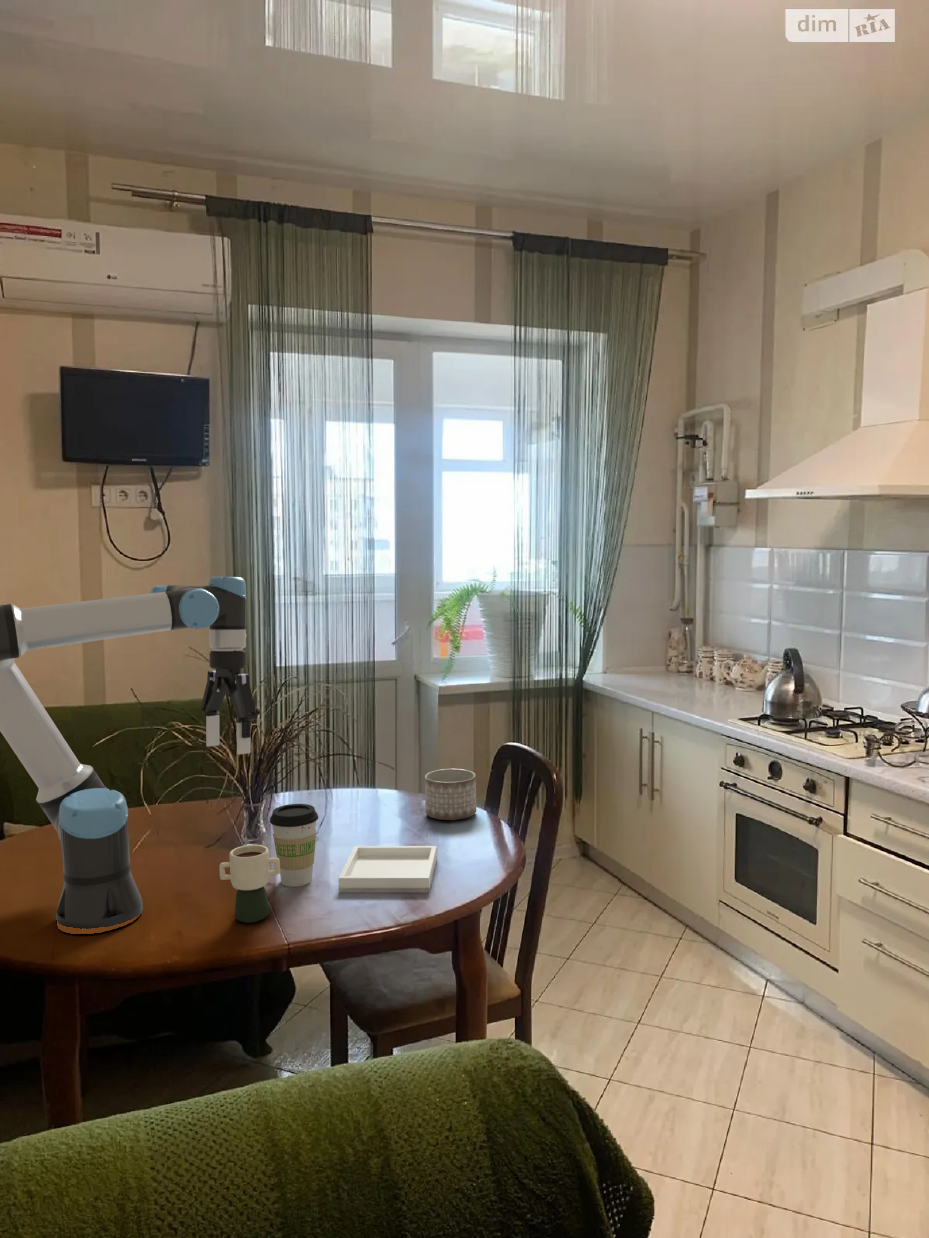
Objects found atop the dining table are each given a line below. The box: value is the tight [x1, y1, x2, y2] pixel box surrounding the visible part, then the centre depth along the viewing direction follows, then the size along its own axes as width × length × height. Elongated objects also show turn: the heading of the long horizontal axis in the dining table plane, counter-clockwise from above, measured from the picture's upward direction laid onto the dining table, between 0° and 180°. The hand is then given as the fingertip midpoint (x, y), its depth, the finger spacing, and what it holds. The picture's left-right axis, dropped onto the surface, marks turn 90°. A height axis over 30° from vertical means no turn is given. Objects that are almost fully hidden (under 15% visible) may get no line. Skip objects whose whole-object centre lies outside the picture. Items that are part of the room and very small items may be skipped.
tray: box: [338, 845, 438, 894], centre depth 187 cm, size 18×18×3 cm
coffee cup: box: [269, 803, 319, 888], centre depth 184 cm, size 10×10×15 cm
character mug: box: [218, 844, 280, 924], centre depth 167 cm, size 11×7×13 cm, turn 102°
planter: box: [424, 768, 477, 821], centre depth 224 cm, size 13×13×10 cm
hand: (227, 749), depth 190 cm, fingers open, 13 cm apart
